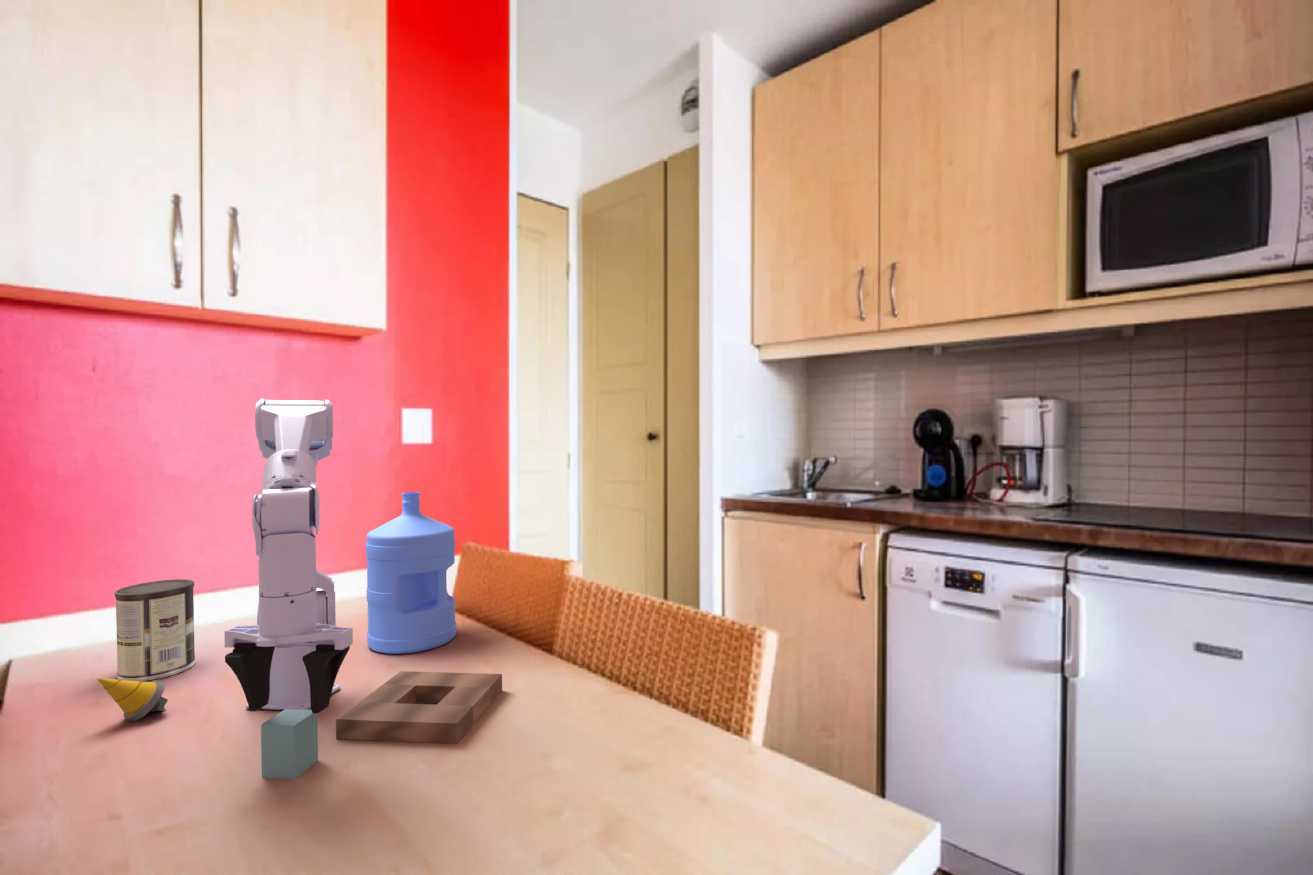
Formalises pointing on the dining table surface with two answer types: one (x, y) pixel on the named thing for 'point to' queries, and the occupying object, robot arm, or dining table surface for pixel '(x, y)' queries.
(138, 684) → the drill bit
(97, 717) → the dining table surface
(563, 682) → the dining table surface
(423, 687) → the block with rectangular hole
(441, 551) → the water jug
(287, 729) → the pale blue box
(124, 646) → the coffee can
